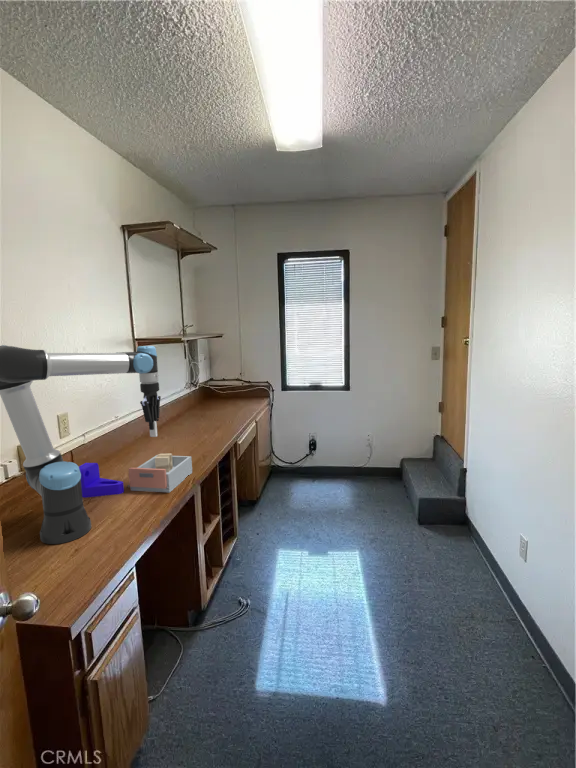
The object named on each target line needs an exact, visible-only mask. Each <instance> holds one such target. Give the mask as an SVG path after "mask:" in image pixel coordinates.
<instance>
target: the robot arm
mask: <svg viewBox="0 0 576 768" xmlns="http://www.w3.org/2000/svg"><path fill="white" fill-rule="evenodd" d="M113 374H114V375H115V374H117V375H118V374H139V375H138V376H139V377H138V379H139V383H140V385H139V386H140V393H142V394H143V397H142V398H143V400H140V402H139V403H140V406H141V408H142V413H143V416H144V421H145V423H148V429H149V430H148V431H149V437H152V438H157V437H158V427H157V426H158V425H157V424H158V423H157V422H159V421H160V420H159V419H160V408H161V404H160V403H161V398H162V396H161V395H158V392H159V391H160V383H159V376H160V375H159V368H158V354H157V349H156V346H154V345H143V346H142V345H141V346H140V345H139V346H137V348H136V351H125V352H123V351H122V352H120V351H119V352H47V351H46V350H45V349H30V348H24V347H18V346H12V345H5V344H4V345H3V344H2V345H0V398H1V401H2V403H3V405H4V408H5V410H6V412H7V415H8V418H9V420H10V422H11V425H12V428H13V430H14V432H15V434H16V438H17V439H18V442H19V445H20V446H21V449H22V451H23V454H24V457H25V460H24V461H23V464H22V466H23V468H24V471H25V478H26V481H27V483H28V485H29V486H30V488H31V489H33V490H35V491H36V492H37V493H38V495H40V496H41V501H42V510H43V519H42V522H41V528H40V530H39V537H40V541H41V542H42V543H43V544H48V545H57V544H58V545H59V544H65V543H68V542H69V543H70V542H71V541H74V540H77V539H79V538H81V537H84V535H86V534H88V533H89V532H90V530H91V529H92V520H91V518H90V517H89V515H88V513H87V511H86V509H85V506H84V497H83V496H82V486H81V473H80V470H79V465H78V464H77V463H75V462H72V461H64V459H63V456H62V453H61V452H60V450H59V449H56V448H54V446H53V444H52V442H51V441H52V440H51V439H50V438H51V437H50V436H49V433H48V431H47V427H46V425H45V422H44V419H43V417H42V415H41V412H40V409H39V408H38V404H37V402H36V399H35V396H34V395H33V391H32V389H31V385H32V383H33V382H34V381H43V380H44V381H45V380H47V379H48V378H49V377H66V376H89V375H91V376H92V375H93V376H94V375H113Z"/></svg>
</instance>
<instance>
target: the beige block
mask: <svg viewBox="0 0 576 768" xmlns="http://www.w3.org/2000/svg"><path fill="white" fill-rule="evenodd" d="M157 455H158V456H156V455H155V456H156V457H155V466H156V469H166V472H169V471H171V469H172V468H173V463H172V456H173V453H159V454H157Z"/></svg>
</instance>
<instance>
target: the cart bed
mask: <svg viewBox="0 0 576 768" xmlns="http://www.w3.org/2000/svg"><path fill="white" fill-rule="evenodd" d="M158 455H159V454H156V455H155V456H153V457H151V458H150V459H149V460H146V461H145V462H144V463H142V464H140V465H139V466H137V467H136V468H152V469H156V466H155V457H156V456H158ZM172 463H173V468H172V469H171V471H169V472H166V479H167V488H166V489H165V488H146V487H130V484H128V485H127V488H130V491H133V492H134V491H135V492H152V493H171V492H172V491H174V489H175V488H176V487H178V486H179V485H180V484H181V483H182V482H183V481H184V480H186V479H187V478H188V477H189V476H190V475H191V474H193V465H192V464H193V461H192V456H189V455H188V456H187V455H186V456H185V455H172ZM188 475H189V476H188ZM187 476H188V477H187ZM186 477H187V478H186ZM185 478H186V479H185Z"/></svg>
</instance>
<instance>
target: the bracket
mask: <svg viewBox="0 0 576 768" xmlns="http://www.w3.org/2000/svg"><path fill="white" fill-rule="evenodd" d="M78 467H79V470H80V473H81V486H82V496H83V498H86V499H87V498H95V497H104V496H113V495H121V494H124V492H125V487H124V481H121V480H116V479H109V478H103V477H101V476H100V468H99V467H100V466H99V464H98V462H85V463H83V464H81V465H78Z"/></svg>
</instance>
